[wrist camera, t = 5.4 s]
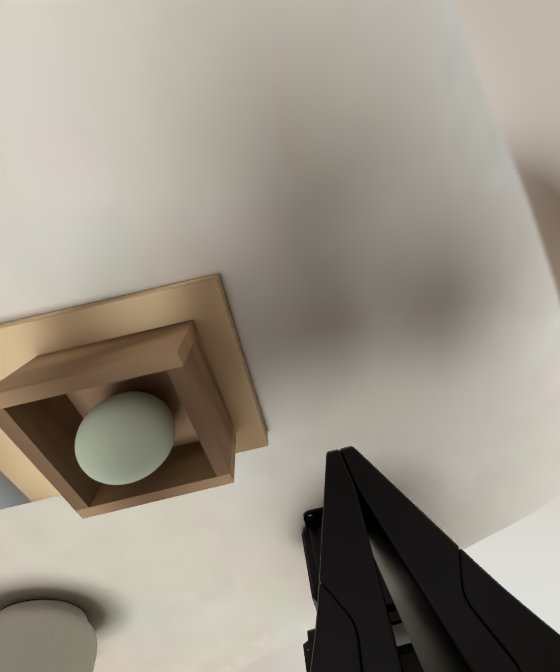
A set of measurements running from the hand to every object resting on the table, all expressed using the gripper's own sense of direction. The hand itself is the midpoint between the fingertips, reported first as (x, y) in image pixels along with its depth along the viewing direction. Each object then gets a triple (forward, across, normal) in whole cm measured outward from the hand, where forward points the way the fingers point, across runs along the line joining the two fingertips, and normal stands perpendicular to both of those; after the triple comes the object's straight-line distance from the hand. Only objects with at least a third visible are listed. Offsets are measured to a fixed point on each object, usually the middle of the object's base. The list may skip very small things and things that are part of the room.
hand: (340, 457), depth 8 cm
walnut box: (+6, +8, 0) cm, 10 cm away
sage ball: (+3, +8, 0) cm, 9 cm away
